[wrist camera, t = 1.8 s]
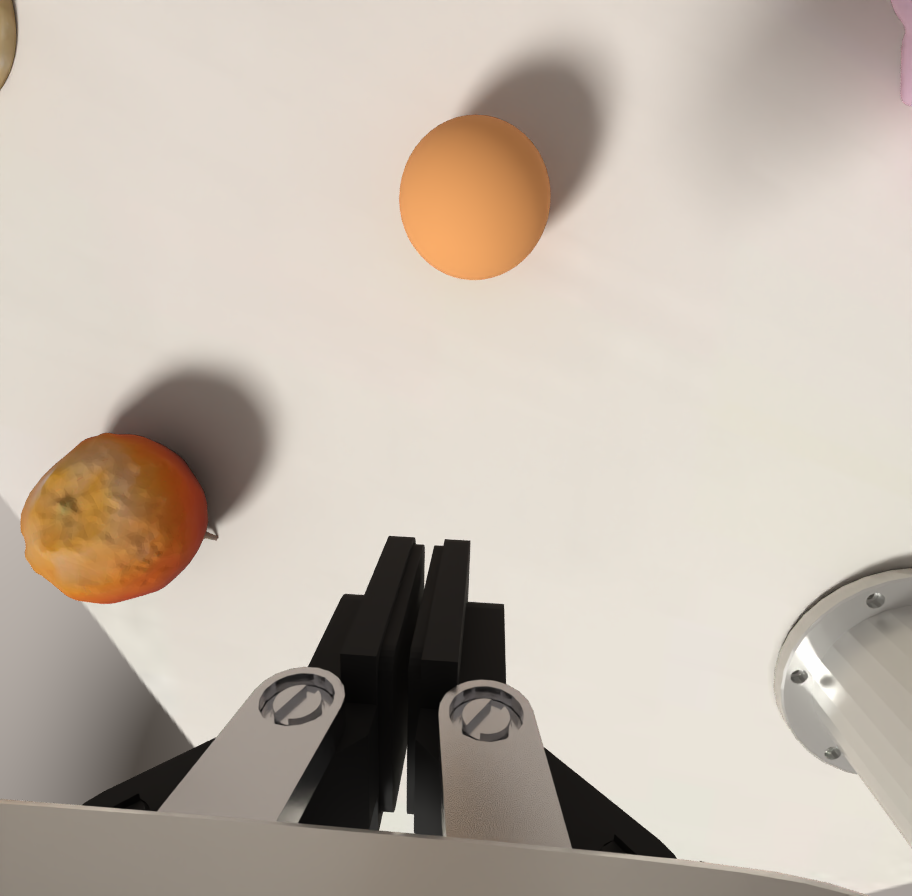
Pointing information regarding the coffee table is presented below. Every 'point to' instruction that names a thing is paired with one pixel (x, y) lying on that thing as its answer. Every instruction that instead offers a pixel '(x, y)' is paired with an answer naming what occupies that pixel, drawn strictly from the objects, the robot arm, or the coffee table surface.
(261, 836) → the robot arm
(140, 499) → the fruit
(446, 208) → the ball
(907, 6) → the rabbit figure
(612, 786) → the coffee table surface
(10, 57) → the hand bell
